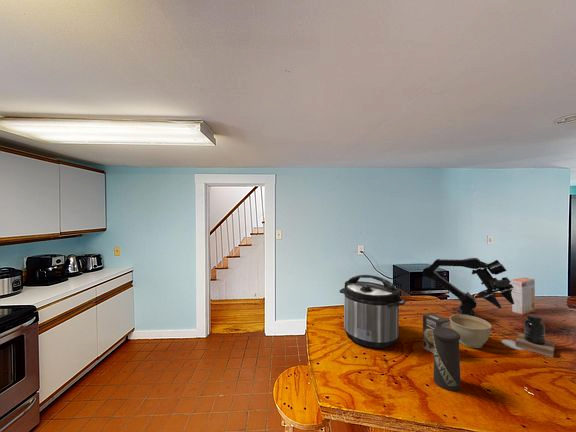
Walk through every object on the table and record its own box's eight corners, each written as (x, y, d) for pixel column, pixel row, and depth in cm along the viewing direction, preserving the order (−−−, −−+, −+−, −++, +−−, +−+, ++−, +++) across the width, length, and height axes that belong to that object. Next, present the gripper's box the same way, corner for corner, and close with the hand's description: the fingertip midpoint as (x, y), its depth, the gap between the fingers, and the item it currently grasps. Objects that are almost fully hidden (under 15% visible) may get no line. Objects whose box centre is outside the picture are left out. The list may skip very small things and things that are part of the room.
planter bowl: (453, 331, 128) (453, 311, 128) (493, 343, 117) (493, 320, 117) (446, 343, 117) (446, 321, 117) (489, 357, 105) (488, 332, 105)
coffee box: (422, 348, 113) (421, 314, 113) (431, 345, 116) (431, 311, 116) (441, 358, 105) (440, 321, 105) (450, 355, 107) (450, 319, 107)
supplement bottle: (547, 346, 108) (547, 320, 108) (526, 342, 112) (526, 317, 112) (542, 340, 114) (542, 315, 114) (522, 336, 118) (522, 312, 118)
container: (427, 376, 94) (427, 325, 94) (449, 374, 94) (448, 324, 94) (444, 392, 85) (443, 336, 85) (467, 390, 86) (467, 335, 86)
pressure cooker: (416, 344, 116) (415, 279, 116) (368, 357, 107) (367, 286, 106) (374, 319, 145) (373, 267, 144) (333, 327, 135) (332, 271, 135)
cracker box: (523, 308, 158) (523, 276, 158) (535, 312, 152) (535, 279, 152) (510, 311, 153) (510, 279, 153) (522, 315, 147) (522, 281, 147)
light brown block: (553, 357, 104) (553, 351, 104) (515, 346, 114) (515, 341, 114) (554, 347, 112) (554, 342, 112) (519, 337, 121) (519, 332, 121)
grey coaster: (510, 350, 112) (510, 348, 112) (497, 340, 120) (497, 338, 120) (532, 351, 110) (532, 350, 110) (518, 341, 119) (518, 340, 119)
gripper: (485, 276, 127) (507, 306, 119) (511, 269, 132) (533, 297, 123) (470, 283, 136) (489, 311, 128) (494, 277, 141) (514, 303, 132)
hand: (507, 306), depth 128 cm, fingers open, 9 cm apart
